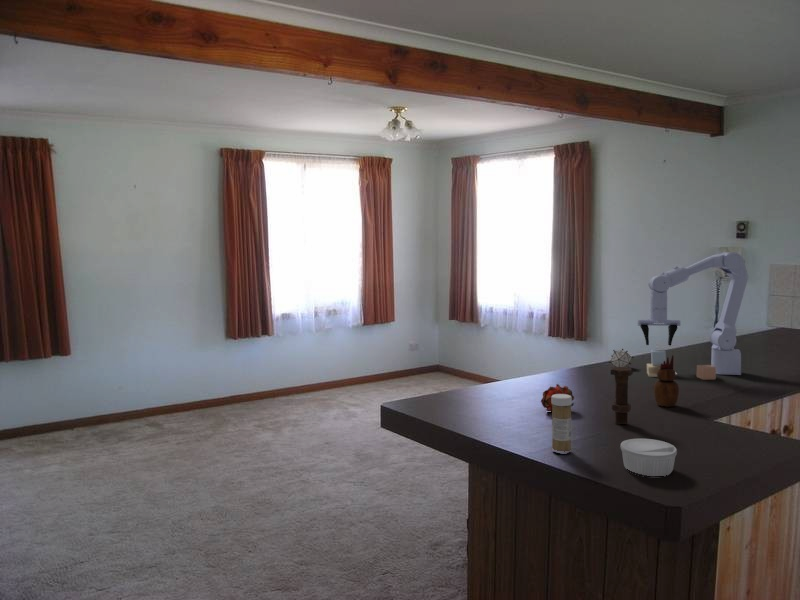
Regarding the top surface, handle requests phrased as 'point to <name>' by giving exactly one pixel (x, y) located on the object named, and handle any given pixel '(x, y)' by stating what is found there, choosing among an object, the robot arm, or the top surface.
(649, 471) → the ramekin
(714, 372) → the terracotta block
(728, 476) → the top surface
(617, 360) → the game die
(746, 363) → the top surface
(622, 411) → the bolt
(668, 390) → the wooden figurine
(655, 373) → the maple base block
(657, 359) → the blue-grey block
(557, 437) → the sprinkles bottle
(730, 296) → the robot arm
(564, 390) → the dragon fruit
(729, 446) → the top surface
